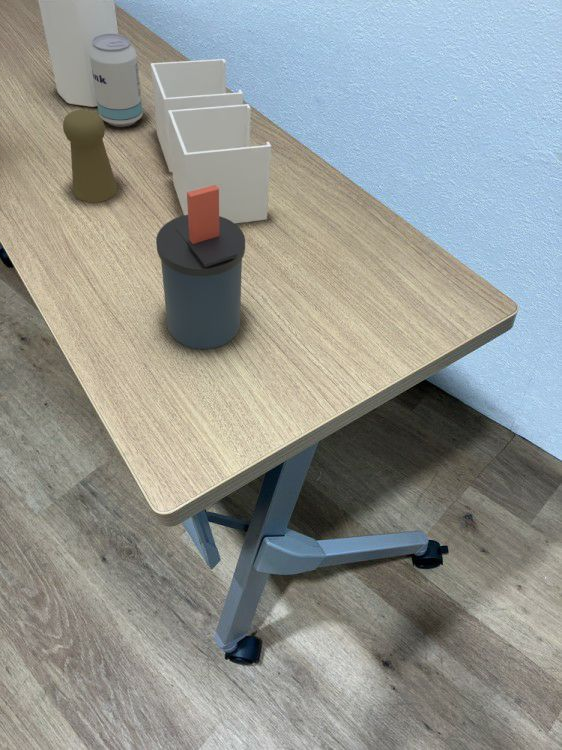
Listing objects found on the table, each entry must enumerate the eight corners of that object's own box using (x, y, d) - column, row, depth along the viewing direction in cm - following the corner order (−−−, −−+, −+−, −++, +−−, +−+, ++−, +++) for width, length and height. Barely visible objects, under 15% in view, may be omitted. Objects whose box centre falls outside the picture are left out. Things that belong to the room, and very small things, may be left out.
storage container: (156, 134, 98) (150, 63, 89) (224, 128, 100) (224, 58, 92) (188, 229, 83) (184, 154, 74) (266, 219, 85) (271, 146, 77)
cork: (71, 180, 88) (55, 105, 80) (114, 175, 90) (102, 101, 81) (75, 204, 84) (59, 128, 76) (120, 199, 86) (108, 124, 77)
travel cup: (152, 311, 72) (141, 226, 63) (220, 287, 76) (220, 204, 67) (185, 362, 68) (179, 278, 58) (256, 334, 71) (261, 252, 62)
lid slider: (186, 244, 61) (183, 192, 57) (218, 234, 63) (218, 183, 58) (204, 267, 59) (202, 216, 55) (237, 257, 61) (238, 206, 56)
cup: (93, 115, 100) (72, -13, 86) (43, 94, 103) (14, -33, 89) (138, 90, 107) (125, -33, 92) (90, 71, 110) (70, -50, 96)
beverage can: (93, 114, 100) (80, 36, 91) (132, 105, 103) (124, 28, 94) (109, 134, 97) (98, 54, 88) (150, 124, 99) (143, 46, 90)
